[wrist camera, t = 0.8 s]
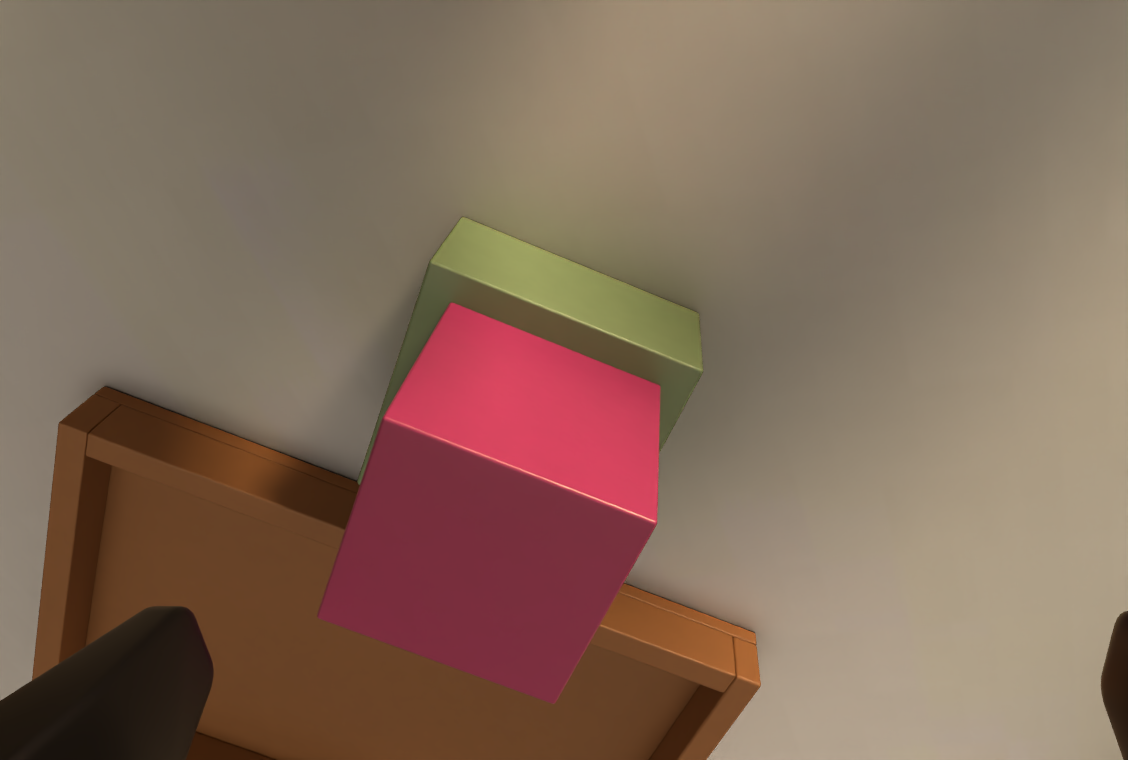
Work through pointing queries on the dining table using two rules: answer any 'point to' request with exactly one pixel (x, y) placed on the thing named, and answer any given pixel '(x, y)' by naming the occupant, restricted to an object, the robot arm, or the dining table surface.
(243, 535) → the tray
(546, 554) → the mulberry block
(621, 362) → the green rectangular block
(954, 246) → the dining table surface
